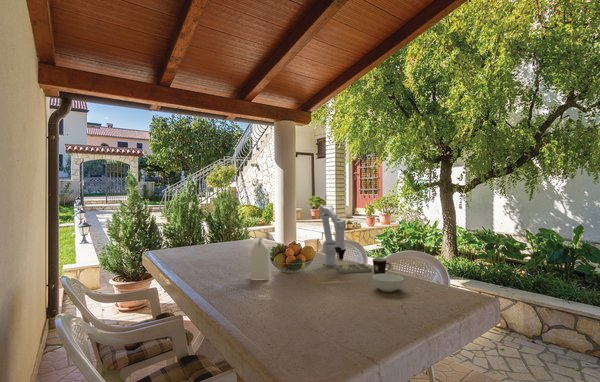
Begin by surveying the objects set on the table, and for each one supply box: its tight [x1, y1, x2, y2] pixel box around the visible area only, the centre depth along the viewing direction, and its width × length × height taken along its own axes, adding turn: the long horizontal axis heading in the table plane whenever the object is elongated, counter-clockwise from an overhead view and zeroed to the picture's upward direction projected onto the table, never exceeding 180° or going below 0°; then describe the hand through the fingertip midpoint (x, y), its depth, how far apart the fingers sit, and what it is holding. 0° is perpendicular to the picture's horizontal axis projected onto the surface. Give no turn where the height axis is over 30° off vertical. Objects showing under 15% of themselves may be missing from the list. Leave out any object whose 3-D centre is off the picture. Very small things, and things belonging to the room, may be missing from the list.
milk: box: [250, 235, 272, 281], centre depth 209 cm, size 12×12×26 cm
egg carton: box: [335, 263, 372, 274], centre depth 223 cm, size 14×20×3 cm
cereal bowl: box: [371, 273, 405, 293], centre depth 181 cm, size 17×17×7 cm
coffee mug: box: [372, 257, 392, 275], centre depth 210 cm, size 12×9×10 cm
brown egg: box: [336, 253, 344, 262], centre depth 224 cm, size 4×4×6 cm
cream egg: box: [342, 261, 349, 270], centre depth 218 cm, size 4×4×6 cm
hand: (340, 258), depth 224 cm, fingers closed on brown egg, 4 cm apart
